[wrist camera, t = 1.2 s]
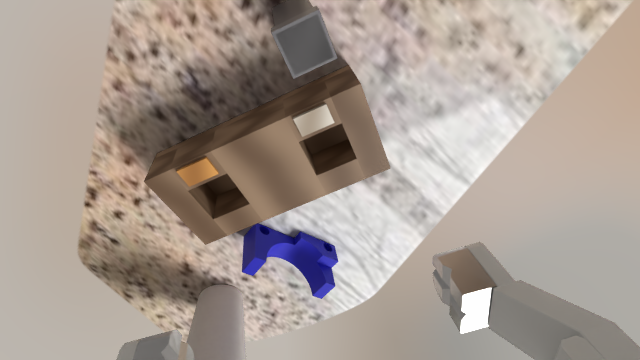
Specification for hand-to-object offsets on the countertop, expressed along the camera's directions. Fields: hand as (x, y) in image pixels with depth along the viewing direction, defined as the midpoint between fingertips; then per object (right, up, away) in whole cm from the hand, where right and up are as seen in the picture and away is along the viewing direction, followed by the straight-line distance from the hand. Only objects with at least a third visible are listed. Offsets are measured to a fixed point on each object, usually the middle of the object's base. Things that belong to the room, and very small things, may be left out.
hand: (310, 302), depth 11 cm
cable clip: (-4, -4, +37) cm, 37 cm away
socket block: (-5, +7, +27) cm, 28 cm away
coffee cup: (-15, -14, +41) cm, 46 cm away
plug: (-2, +18, +19) cm, 27 cm away
